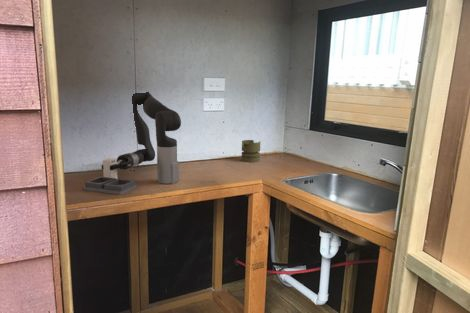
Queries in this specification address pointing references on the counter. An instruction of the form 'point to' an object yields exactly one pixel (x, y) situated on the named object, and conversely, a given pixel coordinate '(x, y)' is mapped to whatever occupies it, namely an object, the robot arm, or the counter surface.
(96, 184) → the grey flat tray
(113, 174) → the block
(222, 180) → the counter surface
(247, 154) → the piston
